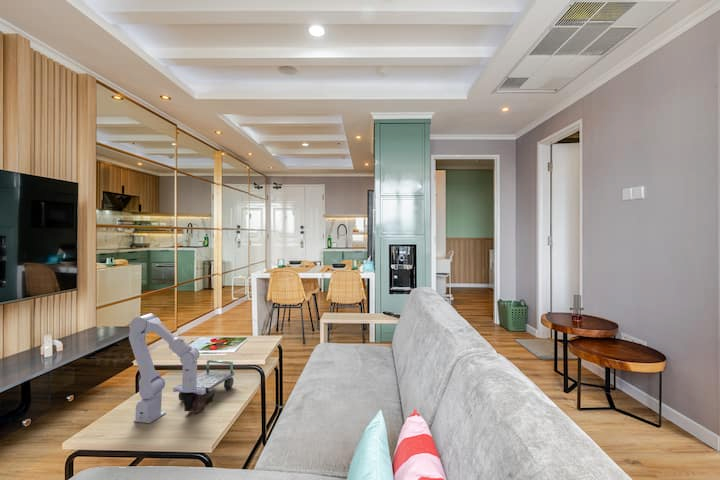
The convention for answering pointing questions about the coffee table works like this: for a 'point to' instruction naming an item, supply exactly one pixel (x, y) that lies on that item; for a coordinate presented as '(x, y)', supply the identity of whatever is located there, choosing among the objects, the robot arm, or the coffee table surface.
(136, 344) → the robot arm
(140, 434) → the coffee table surface
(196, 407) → the box
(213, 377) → the trolley
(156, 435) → the coffee table surface
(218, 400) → the coffee table surface
